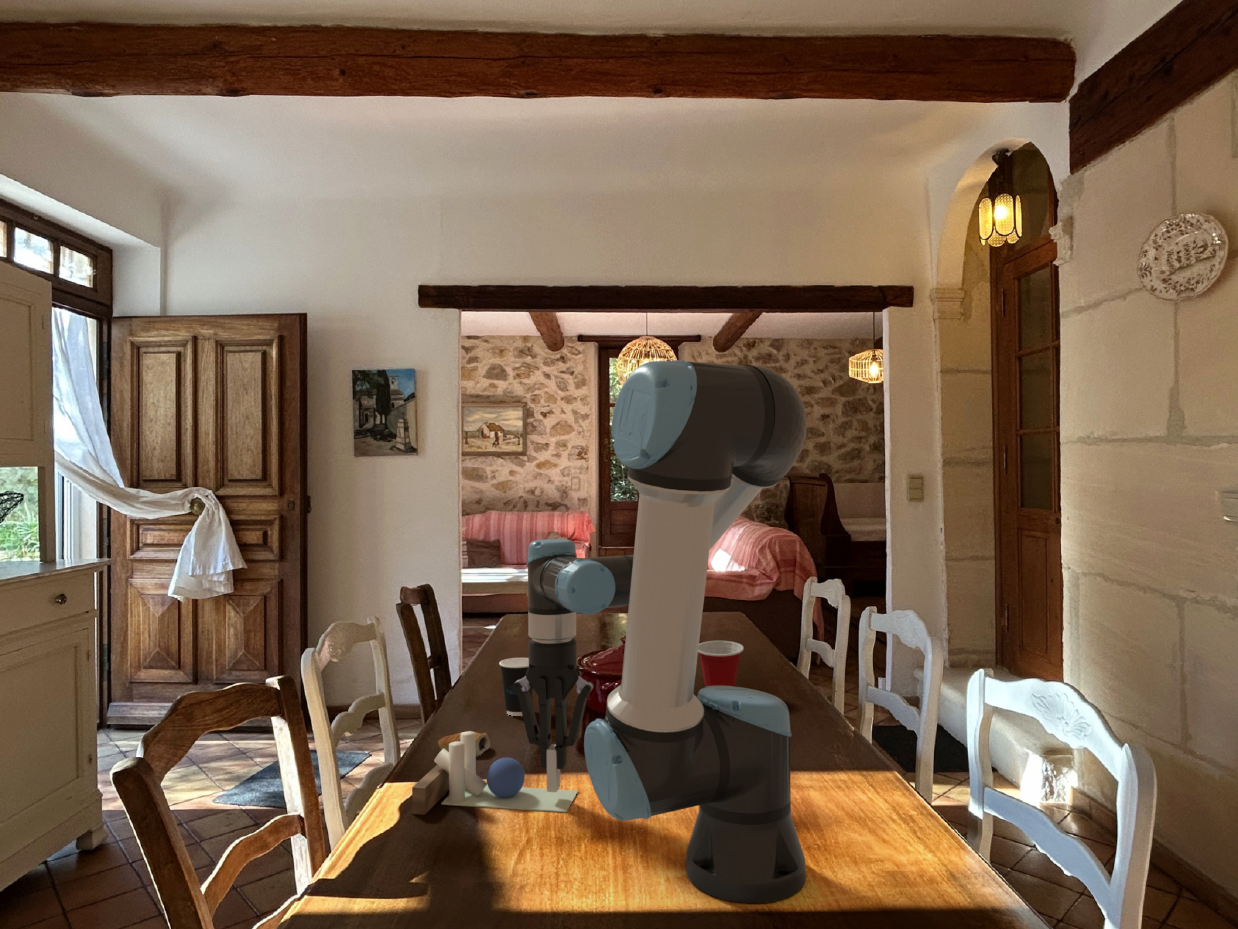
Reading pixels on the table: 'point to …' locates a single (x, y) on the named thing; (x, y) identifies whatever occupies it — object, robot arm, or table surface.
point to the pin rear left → (469, 750)
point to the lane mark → (521, 800)
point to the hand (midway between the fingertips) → (553, 788)
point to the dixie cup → (510, 674)
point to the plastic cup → (720, 662)
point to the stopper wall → (429, 790)
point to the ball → (505, 777)
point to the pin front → (471, 778)
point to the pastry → (480, 740)
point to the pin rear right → (456, 772)
